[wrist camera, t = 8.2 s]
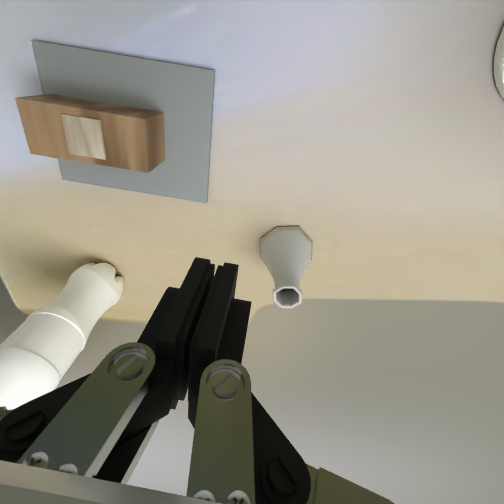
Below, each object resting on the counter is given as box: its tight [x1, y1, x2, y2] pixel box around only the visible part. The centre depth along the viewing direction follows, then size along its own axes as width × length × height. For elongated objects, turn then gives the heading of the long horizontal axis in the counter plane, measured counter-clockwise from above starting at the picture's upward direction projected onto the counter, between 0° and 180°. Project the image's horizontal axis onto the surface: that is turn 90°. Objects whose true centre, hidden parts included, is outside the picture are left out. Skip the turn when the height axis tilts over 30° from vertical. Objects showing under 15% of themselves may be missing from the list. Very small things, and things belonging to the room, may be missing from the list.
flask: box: [260, 226, 312, 308], centre depth 35 cm, size 7×7×10 cm
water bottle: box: [0, 263, 123, 410], centre depth 34 cm, size 7×7×25 cm
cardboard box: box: [16, 94, 165, 173], centre depth 30 cm, size 5×5×12 cm
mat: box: [31, 40, 215, 203], centre depth 32 cm, size 18×14×1 cm
